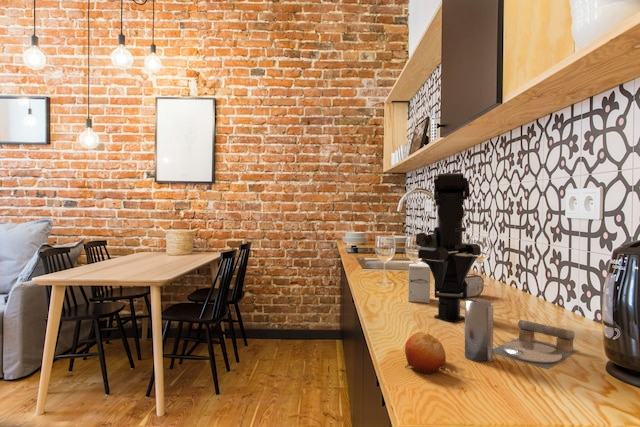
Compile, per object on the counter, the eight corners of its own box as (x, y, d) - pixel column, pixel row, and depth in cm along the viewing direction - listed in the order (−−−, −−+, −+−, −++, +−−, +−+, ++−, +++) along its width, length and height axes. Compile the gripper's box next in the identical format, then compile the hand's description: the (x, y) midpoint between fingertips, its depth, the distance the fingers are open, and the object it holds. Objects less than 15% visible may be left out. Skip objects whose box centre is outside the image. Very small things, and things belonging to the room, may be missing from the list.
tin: (478, 294, 147) (478, 272, 147) (485, 296, 144) (485, 273, 144) (449, 298, 140) (449, 275, 140) (456, 300, 137) (456, 276, 137)
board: (521, 341, 94) (521, 336, 94) (578, 355, 84) (578, 350, 84) (487, 356, 84) (487, 351, 84) (547, 375, 74) (547, 369, 74)
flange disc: (517, 341, 90) (517, 338, 90) (570, 355, 81) (570, 351, 81) (493, 352, 83) (493, 348, 83) (548, 368, 75) (548, 364, 75)
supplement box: (407, 302, 135) (407, 265, 134) (409, 297, 142) (409, 262, 142) (429, 303, 132) (429, 266, 132) (430, 298, 139) (430, 263, 139)
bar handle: (517, 339, 91) (517, 320, 91) (522, 337, 93) (522, 318, 93) (570, 353, 83) (570, 332, 83) (574, 350, 84) (574, 330, 84)
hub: (471, 354, 85) (471, 295, 85) (502, 364, 80) (502, 301, 80) (453, 362, 81) (453, 300, 81) (484, 373, 75) (485, 306, 75)
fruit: (407, 349, 84) (425, 321, 82) (437, 376, 80) (457, 348, 77) (388, 360, 78) (407, 331, 75) (420, 390, 74) (441, 360, 71)
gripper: (444, 221, 109) (444, 276, 109) (400, 223, 98) (400, 284, 98) (481, 222, 100) (481, 282, 101) (438, 224, 89) (438, 292, 89)
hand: (450, 285), depth 97 cm, fingers open, 9 cm apart
